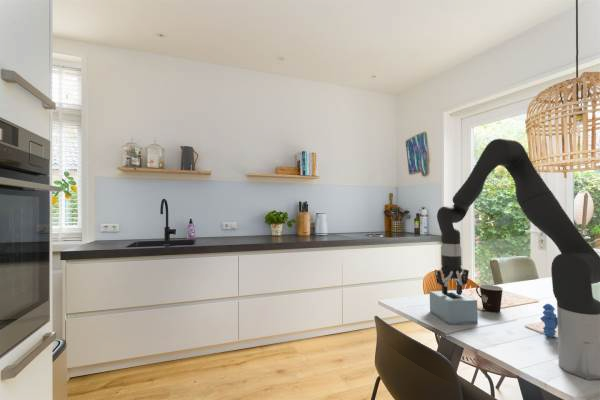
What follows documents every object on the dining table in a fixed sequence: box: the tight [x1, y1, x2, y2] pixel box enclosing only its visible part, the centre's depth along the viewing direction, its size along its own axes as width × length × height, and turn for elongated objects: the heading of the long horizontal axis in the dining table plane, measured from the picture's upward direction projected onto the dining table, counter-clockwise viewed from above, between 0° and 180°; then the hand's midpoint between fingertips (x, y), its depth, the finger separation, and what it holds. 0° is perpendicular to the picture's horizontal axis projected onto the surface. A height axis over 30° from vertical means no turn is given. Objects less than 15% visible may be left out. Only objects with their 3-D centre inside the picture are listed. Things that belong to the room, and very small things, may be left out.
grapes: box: [540, 303, 558, 338], centre depth 103 cm, size 12×7×12 cm, turn 142°
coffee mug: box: [475, 284, 504, 314], centre depth 132 cm, size 12×9×10 cm
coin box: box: [429, 289, 479, 325], centre depth 123 cm, size 14×12×9 cm
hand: (452, 294), depth 123 cm, fingers open, 5 cm apart
